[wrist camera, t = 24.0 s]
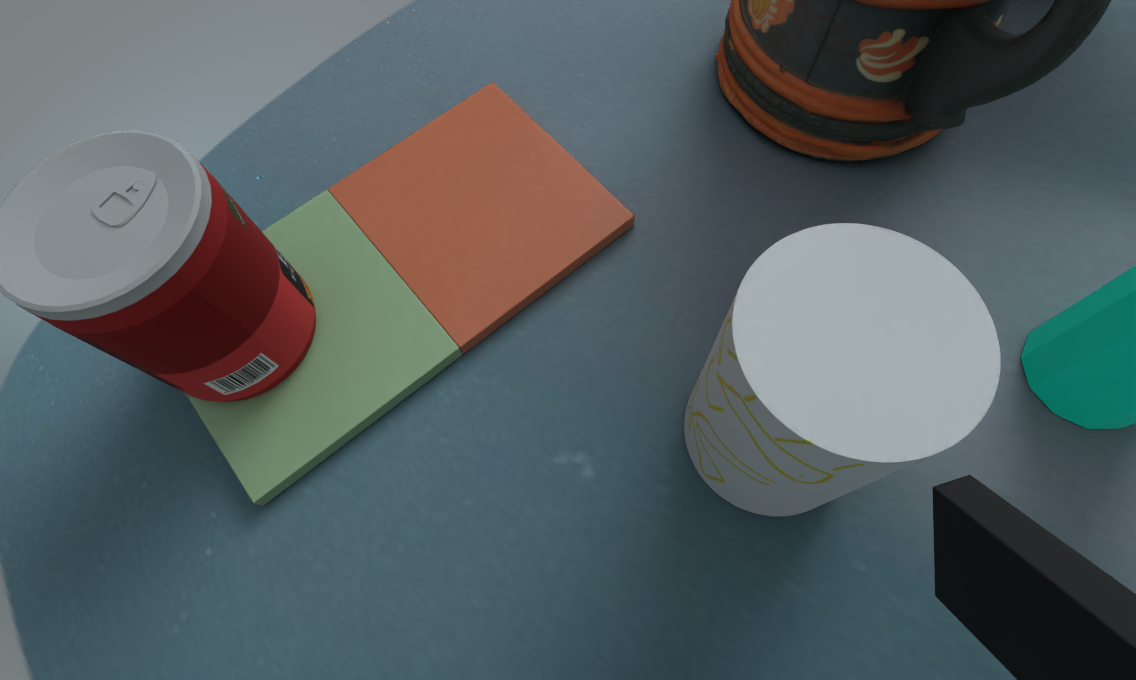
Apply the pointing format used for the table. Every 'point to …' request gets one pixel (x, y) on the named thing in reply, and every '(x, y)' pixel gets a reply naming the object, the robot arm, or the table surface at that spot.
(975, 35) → the tankard
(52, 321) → the canned food
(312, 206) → the board
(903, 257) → the yellow-scribbled white cylinder
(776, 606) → the table surface
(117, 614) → the table surface
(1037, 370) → the candle
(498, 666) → the table surface
